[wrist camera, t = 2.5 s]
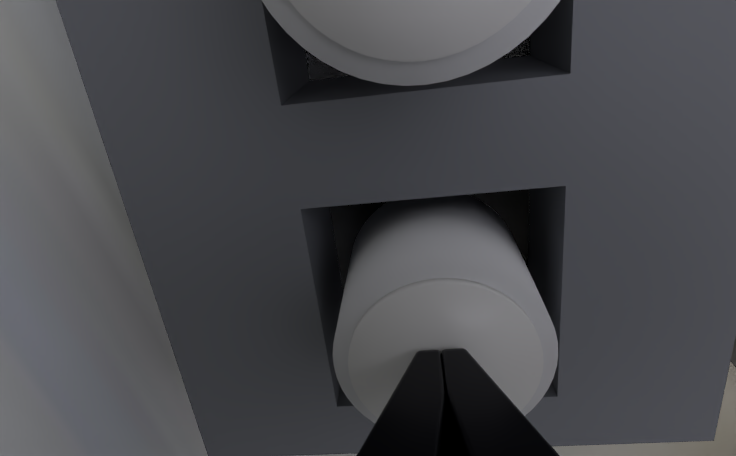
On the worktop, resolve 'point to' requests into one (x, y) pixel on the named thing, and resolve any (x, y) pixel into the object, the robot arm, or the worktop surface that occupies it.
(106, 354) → the worktop surface
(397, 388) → the robot arm
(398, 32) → the button
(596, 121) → the board
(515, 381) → the button
